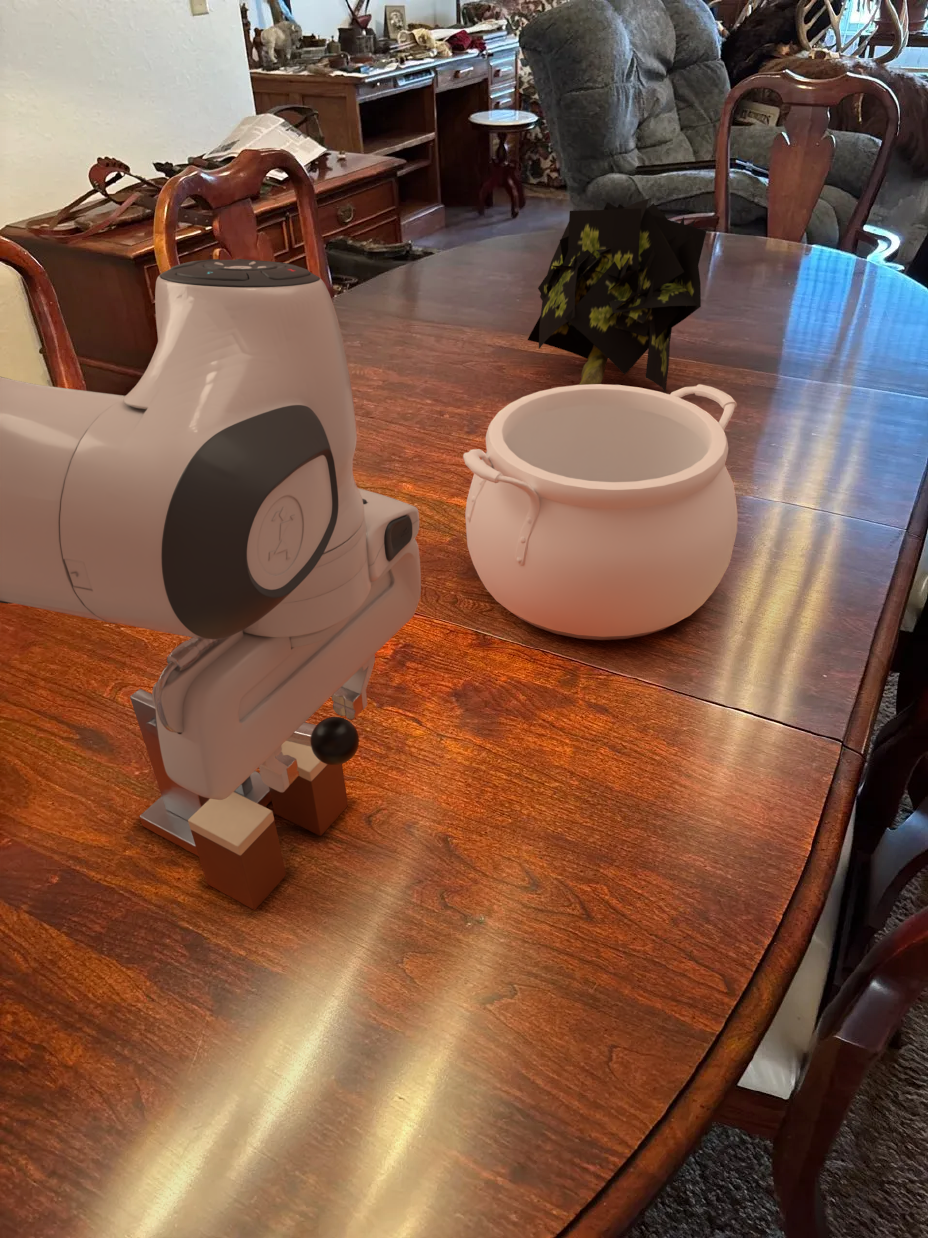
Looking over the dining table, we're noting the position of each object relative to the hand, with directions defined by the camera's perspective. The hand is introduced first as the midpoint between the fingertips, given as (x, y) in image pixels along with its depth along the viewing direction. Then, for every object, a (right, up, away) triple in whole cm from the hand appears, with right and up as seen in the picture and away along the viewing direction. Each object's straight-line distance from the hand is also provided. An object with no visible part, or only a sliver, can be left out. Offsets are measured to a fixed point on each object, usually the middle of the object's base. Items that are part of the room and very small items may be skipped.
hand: (317, 744), depth 59 cm
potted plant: (+30, +42, +76) cm, 92 cm away
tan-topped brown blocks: (-4, -9, +10) cm, 14 cm away
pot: (+23, +12, +37) cm, 45 cm away
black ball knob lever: (-4, 0, +3) cm, 5 cm away
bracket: (-10, -7, +13) cm, 18 cm away
